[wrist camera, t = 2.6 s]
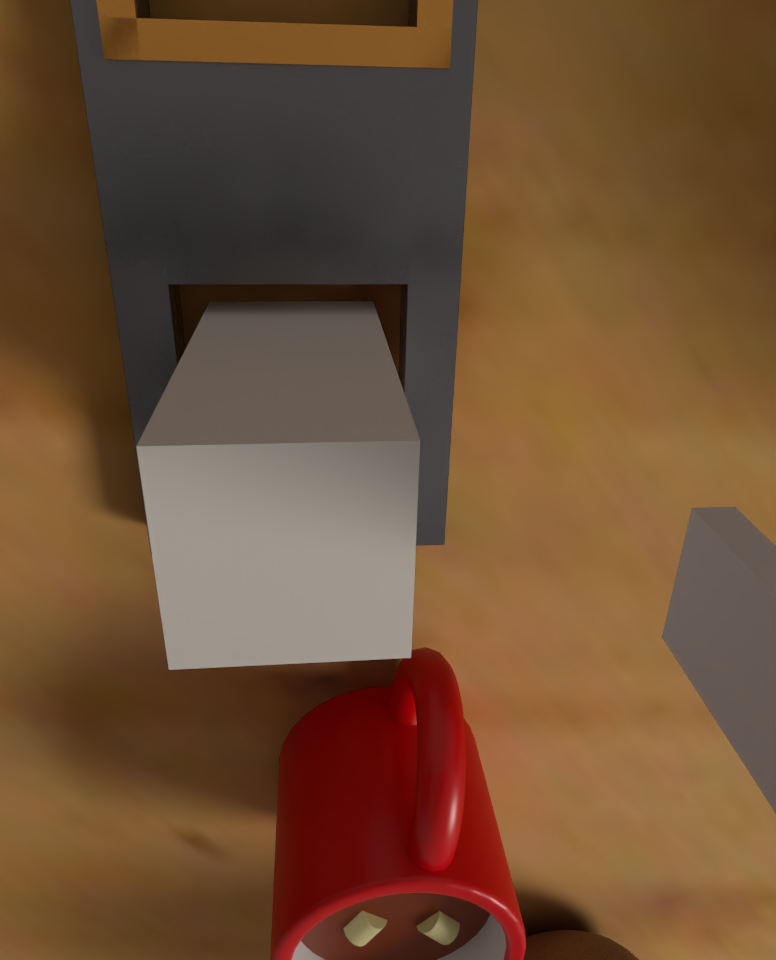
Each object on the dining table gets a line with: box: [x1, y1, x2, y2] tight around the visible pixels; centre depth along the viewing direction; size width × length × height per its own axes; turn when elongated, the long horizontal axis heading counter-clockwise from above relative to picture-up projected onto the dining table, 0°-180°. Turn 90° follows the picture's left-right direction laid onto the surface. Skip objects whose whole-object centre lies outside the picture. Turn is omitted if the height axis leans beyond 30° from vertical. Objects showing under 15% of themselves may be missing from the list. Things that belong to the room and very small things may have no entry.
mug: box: [270, 647, 526, 960], centre depth 25 cm, size 8×12×8 cm, turn 171°
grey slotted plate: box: [70, 0, 478, 555], centre depth 19 cm, size 9×22×2 cm, turn 179°
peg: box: [136, 301, 420, 670], centre depth 18 cm, size 5×5×10 cm
